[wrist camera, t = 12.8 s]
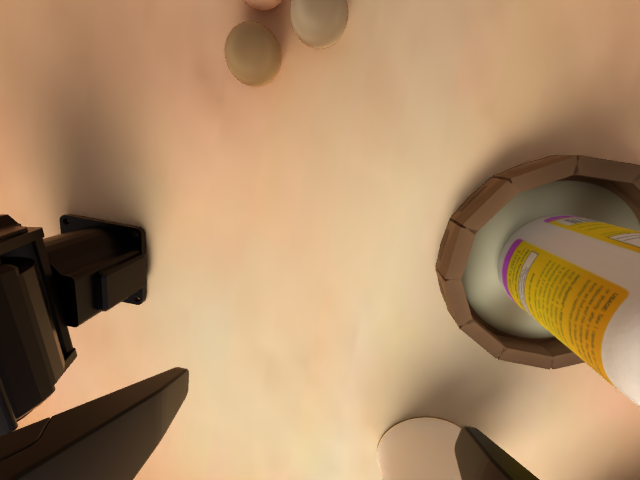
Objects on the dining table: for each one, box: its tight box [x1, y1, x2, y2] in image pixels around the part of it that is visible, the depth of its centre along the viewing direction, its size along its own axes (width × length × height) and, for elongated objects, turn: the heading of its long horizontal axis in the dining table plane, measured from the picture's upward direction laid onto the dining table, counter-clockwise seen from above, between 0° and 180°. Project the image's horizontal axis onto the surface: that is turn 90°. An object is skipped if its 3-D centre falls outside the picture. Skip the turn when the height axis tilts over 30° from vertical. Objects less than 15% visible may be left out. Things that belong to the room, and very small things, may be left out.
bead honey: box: [225, 22, 281, 87], centre depth 17 cm, size 3×3×3 cm
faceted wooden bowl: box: [436, 156, 640, 369], centre depth 19 cm, size 14×14×2 cm
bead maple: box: [290, 0, 348, 49], centre depth 16 cm, size 3×3×3 cm
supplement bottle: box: [498, 215, 640, 406], centre depth 13 cm, size 7×7×13 cm
